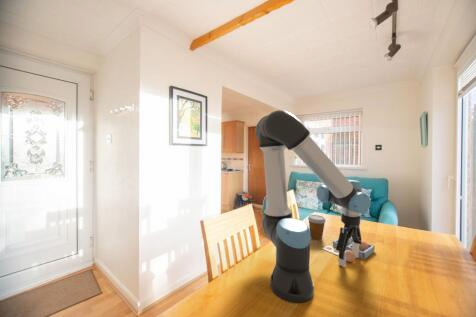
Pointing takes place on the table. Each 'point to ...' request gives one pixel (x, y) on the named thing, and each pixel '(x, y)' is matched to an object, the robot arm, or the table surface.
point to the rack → (361, 254)
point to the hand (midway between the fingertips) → (348, 261)
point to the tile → (331, 250)
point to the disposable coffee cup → (316, 226)
